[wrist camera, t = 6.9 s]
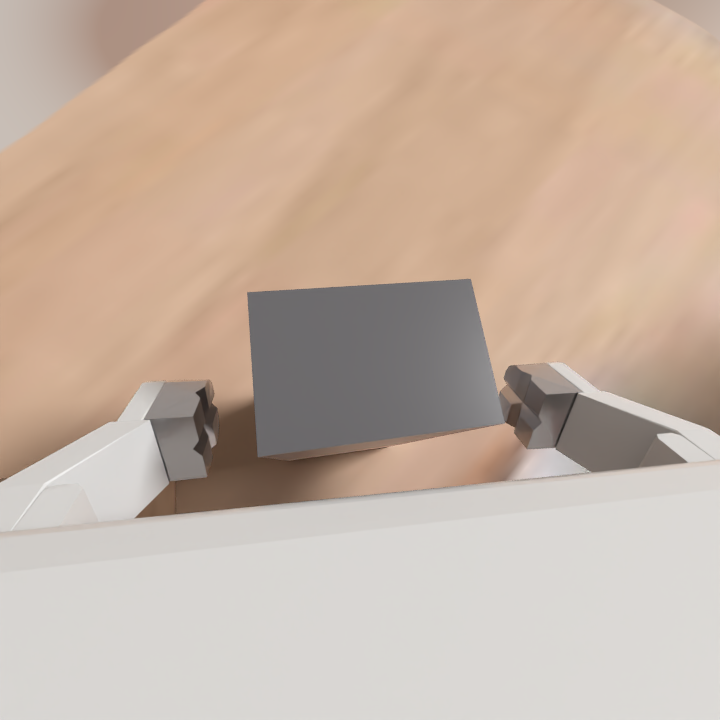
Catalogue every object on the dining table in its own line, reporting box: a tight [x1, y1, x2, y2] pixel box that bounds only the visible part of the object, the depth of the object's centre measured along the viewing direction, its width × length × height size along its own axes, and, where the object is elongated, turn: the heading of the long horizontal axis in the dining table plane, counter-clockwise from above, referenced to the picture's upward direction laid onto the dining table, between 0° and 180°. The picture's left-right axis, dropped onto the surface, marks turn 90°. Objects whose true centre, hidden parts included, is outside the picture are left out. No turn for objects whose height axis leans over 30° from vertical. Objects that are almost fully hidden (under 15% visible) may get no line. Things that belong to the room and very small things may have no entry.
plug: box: [247, 279, 505, 461], centre depth 12 cm, size 3×4×10 cm, turn 98°
